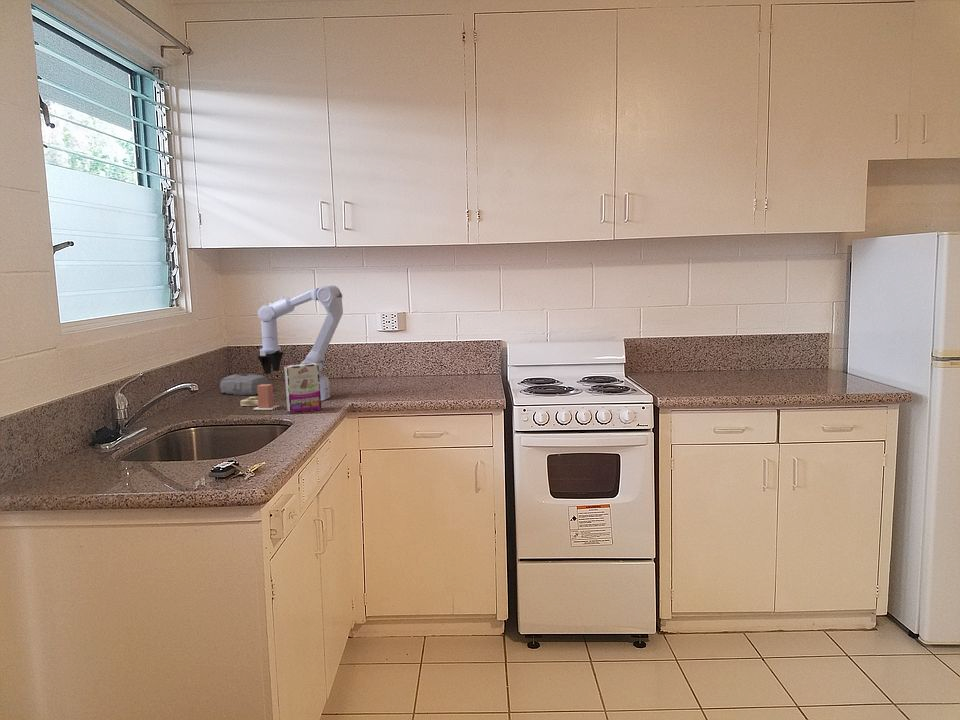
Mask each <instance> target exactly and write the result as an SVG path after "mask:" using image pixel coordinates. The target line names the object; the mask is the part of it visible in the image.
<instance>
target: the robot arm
mask: <svg viewBox="0 0 960 720" xmlns="http://www.w3.org/2000/svg"><path fill="white" fill-rule="evenodd" d="M310 301H317V302H318V301H319V302H320V304H321V305H322V306H323V307H324V309H325V311H326V313H327V314H326V316H325V318H324V321H323V324H322V325H321V328H320V330H319V332H318V334H317V337H316V338H315V341H314V343H313V346H312V347H311V350H310V352H309V353H308V354H307V355H306V356H305V358H304V360H303V361H301V362H300V364H309V363H317V364H318V366H319V380H320V394H321V402H322V401H326V400H327V399H329V398H331V395H330V393H331V392H330V380H329V377H328V376H326V375H325V376H324V375H323V374H322V371H323V369H324V362H325V359H326V356H325V354H326V352H327V350H328V348H329V345H330V344H331V343H330V342H331V341H332V338H333V337H334V334H335V332H336V329H337V328H338V325H339V322H340V321H341V319H342V316H343V314H344V311H343V309H344V307H343V293H342V292H341V290H340V288H339V287H338V286H336V285H322V286H321V287H320V286H319V287H316V288H312V289H310V290H308V291H306V292H303V293H301V294H299V295H297V296H295V297H292V298H291V297H285V296H282V297H280V298H279V300H276V301H274V302H273V301H272V302H269V303H268V304H269V305H262V306H261V307H259V309H258V310H257V316H258V319H260V329H261V330H260V331H261V342H262V343H261V345H262V346H261V347H262V348H259V355H257V358H258V360H259V362H260V364H261V366H262V370H263V372H264V375H270V374H272V371H273V372H279V371H280V367H281V363H282V359H283V356H284V353H285V352H284V351H282V349H281V346H280V345H279V341H278V340H279V339H278V324H277V323H278V322H277V319H278V318H280V317H282V316H285V315H287V314H290V313H292V312H293V311H294V310H295V309H296V307H298V306H300V305H302V304H305V303H308V302H310Z"/></svg>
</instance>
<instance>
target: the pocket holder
mask: <svg viewBox="0 0 960 720" xmlns="http://www.w3.org/2000/svg"><path fill="white" fill-rule="evenodd" d="M239 401H240V403H239V404H240V405H239V406H240V407H241V406H258V396H249V397H246V398H244V399H241V400H239Z"/></svg>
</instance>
